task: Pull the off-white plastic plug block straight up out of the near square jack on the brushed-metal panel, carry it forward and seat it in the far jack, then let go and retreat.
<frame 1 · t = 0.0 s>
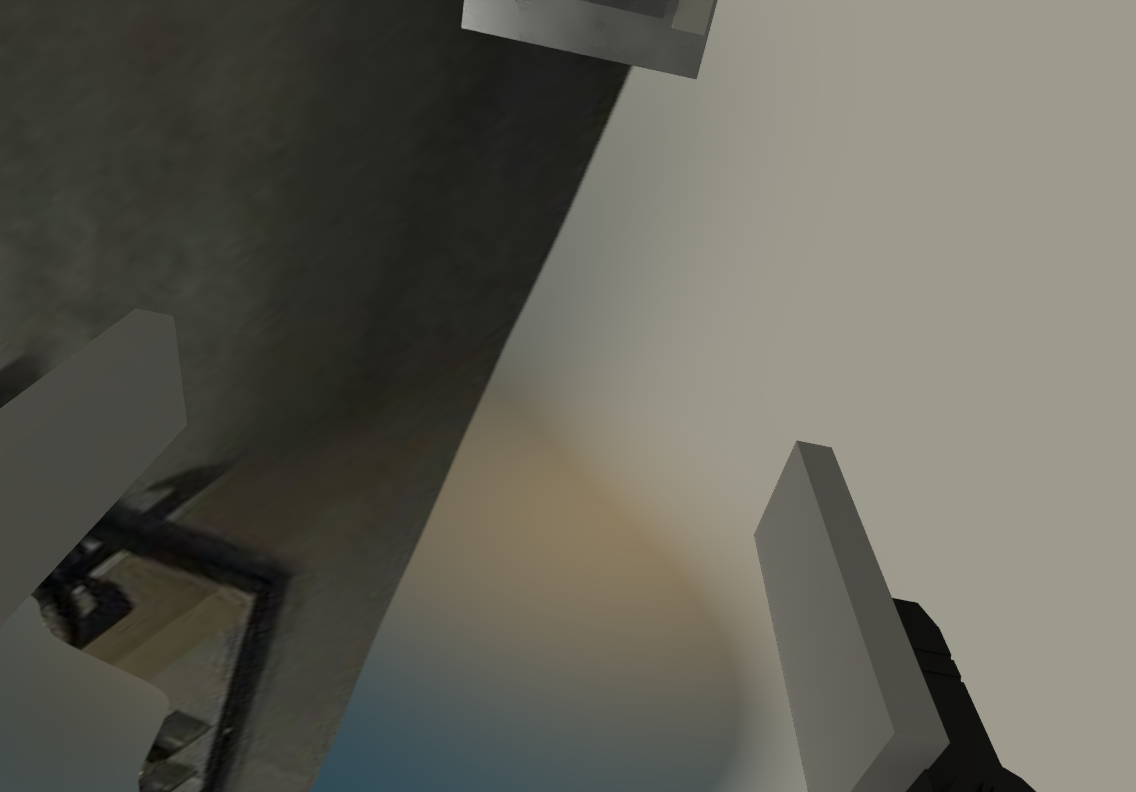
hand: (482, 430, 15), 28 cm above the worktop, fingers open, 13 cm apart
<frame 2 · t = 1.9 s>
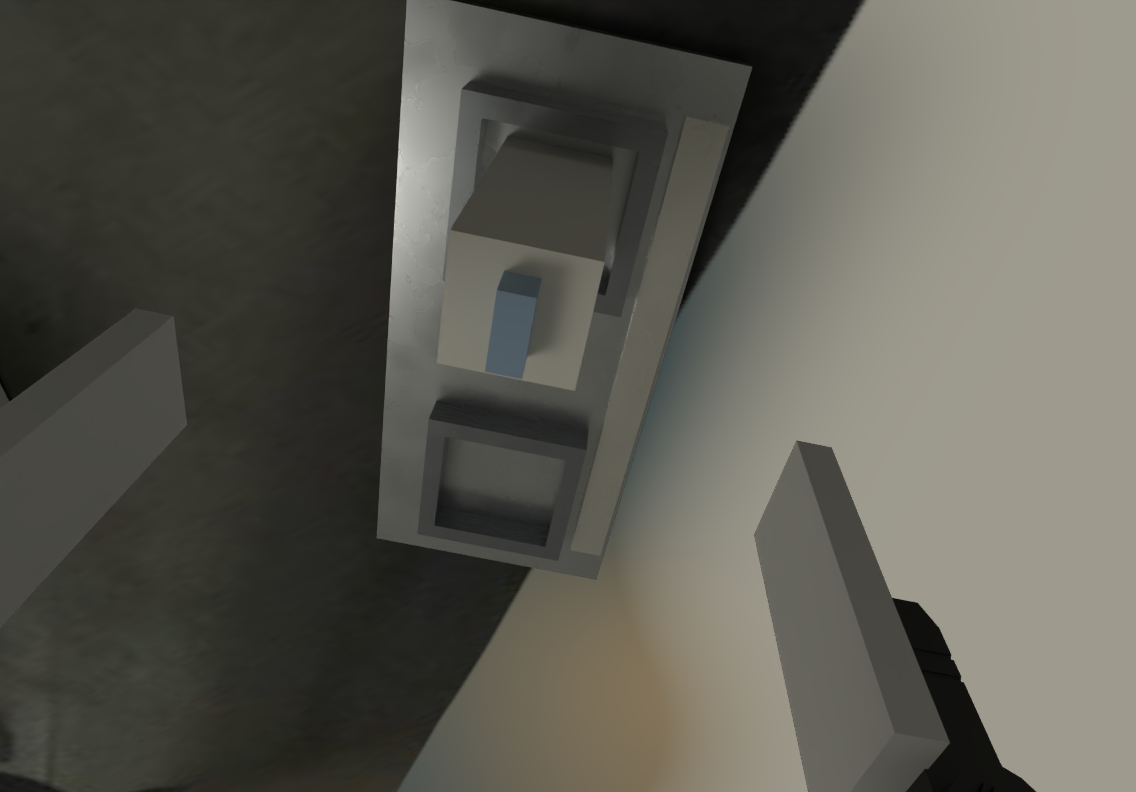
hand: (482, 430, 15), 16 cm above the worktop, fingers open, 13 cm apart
plug: (551, 199, 28), point 1 cm above the worktop, touching panel
panel: (526, 342, 32), on the worktop
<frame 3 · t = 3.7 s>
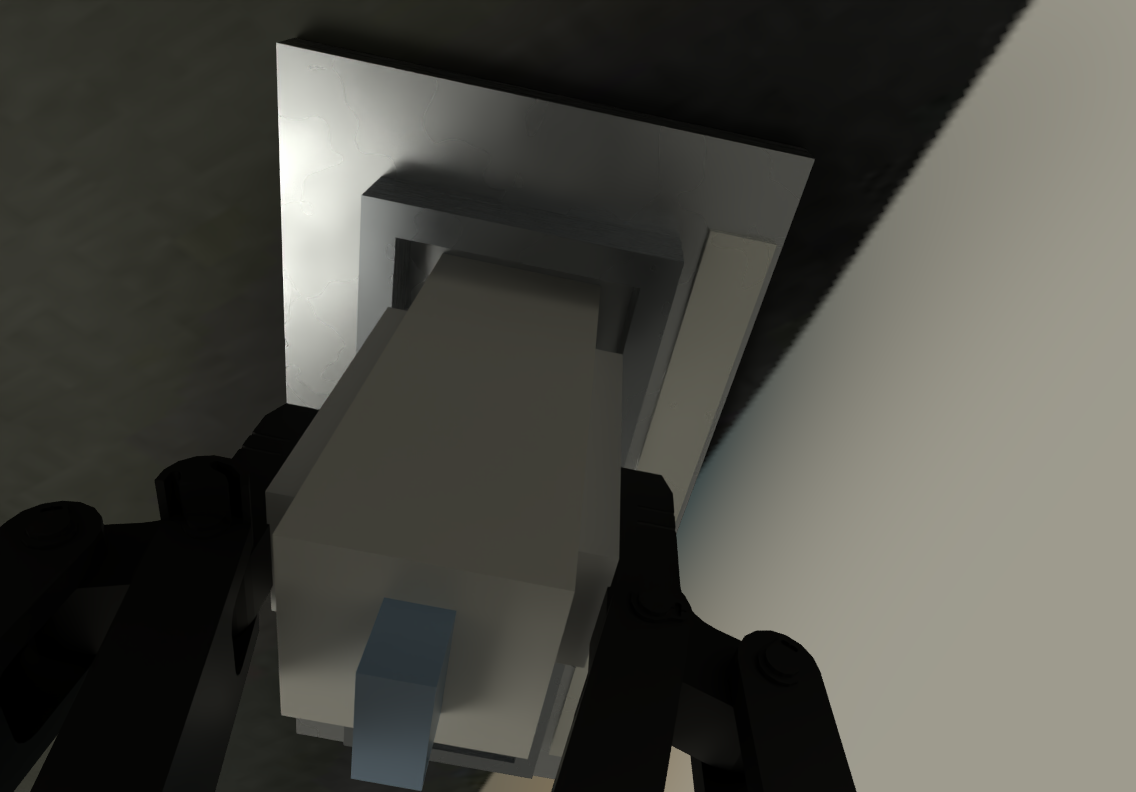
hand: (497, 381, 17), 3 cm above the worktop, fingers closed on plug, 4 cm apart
plug: (510, 339, 19), point 1 cm above the worktop, touching gripper, panel
panel: (484, 510, 23), on the worktop
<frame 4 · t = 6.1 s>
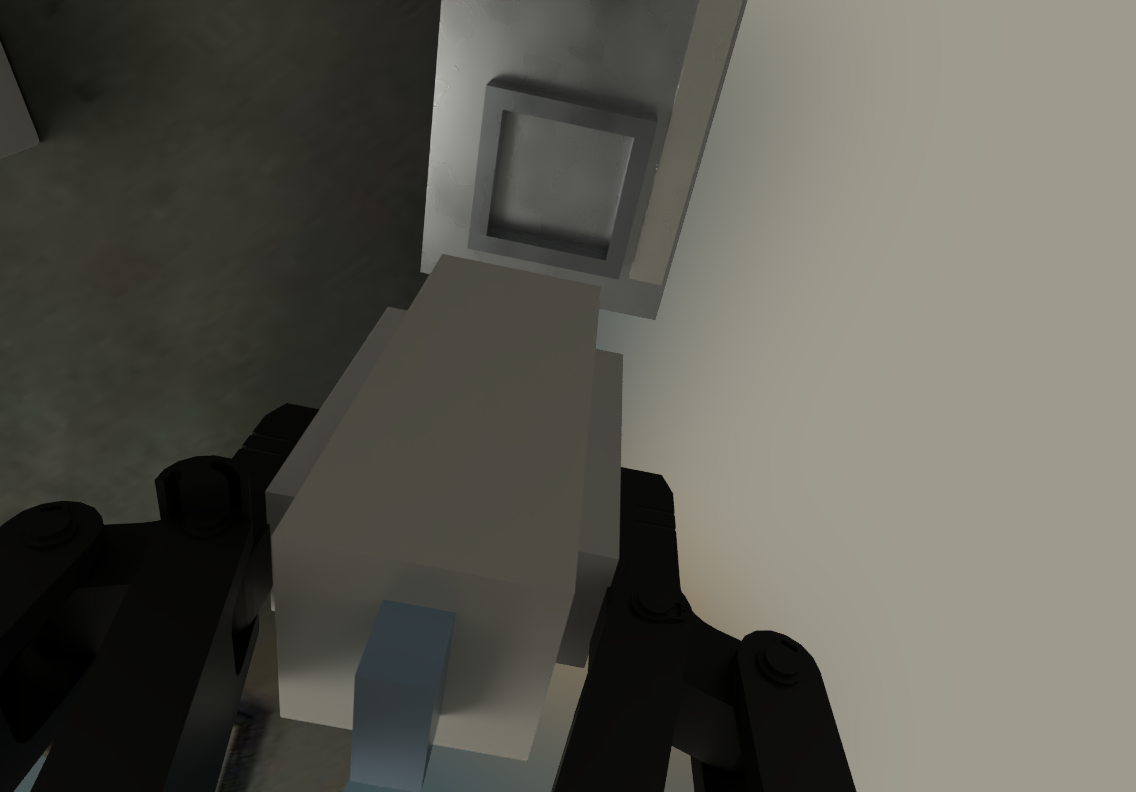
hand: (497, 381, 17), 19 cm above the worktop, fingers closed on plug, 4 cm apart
plug: (510, 340, 19), point 17 cm above the worktop, touching gripper
panel: (592, 5, 30), on the worktop
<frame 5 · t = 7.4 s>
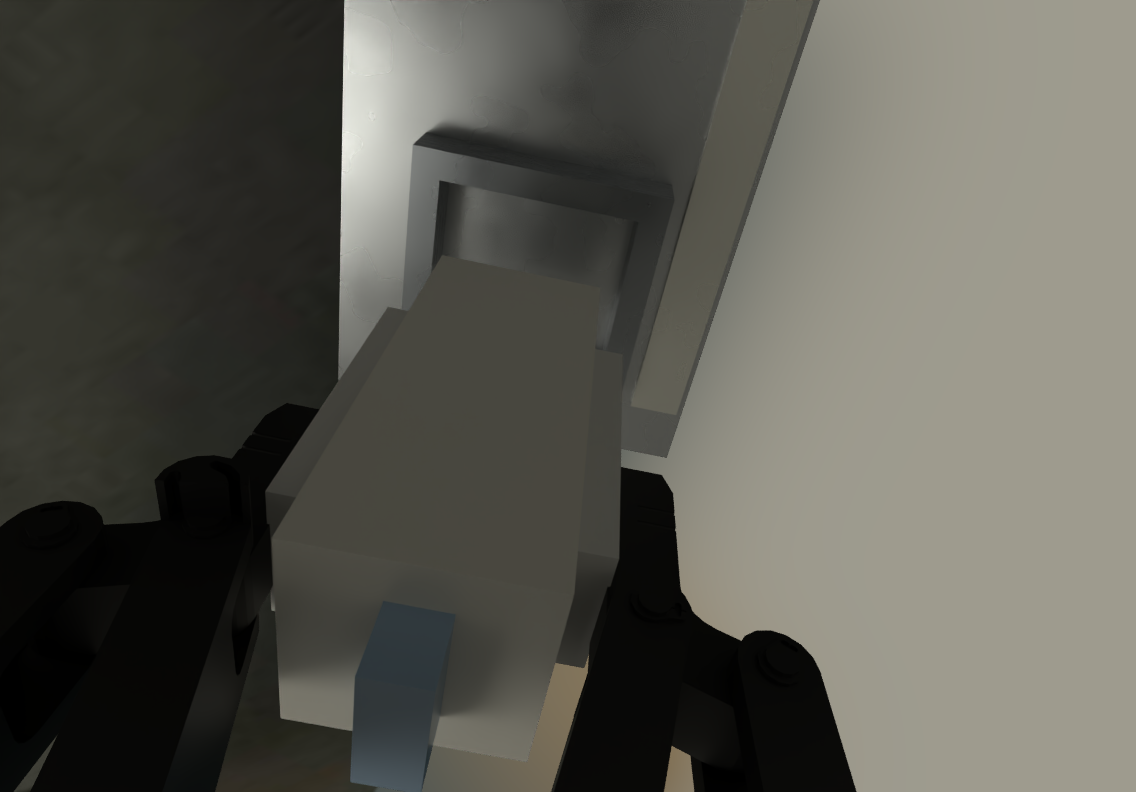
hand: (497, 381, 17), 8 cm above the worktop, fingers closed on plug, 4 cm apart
plug: (510, 341, 19), point 5 cm above the worktop, touching gripper
panel: (574, 24, 20), on the worktop
when the fingers open (4 cm above the worktop, at t = 8.4 s): plug stays where it is, resting on panel.
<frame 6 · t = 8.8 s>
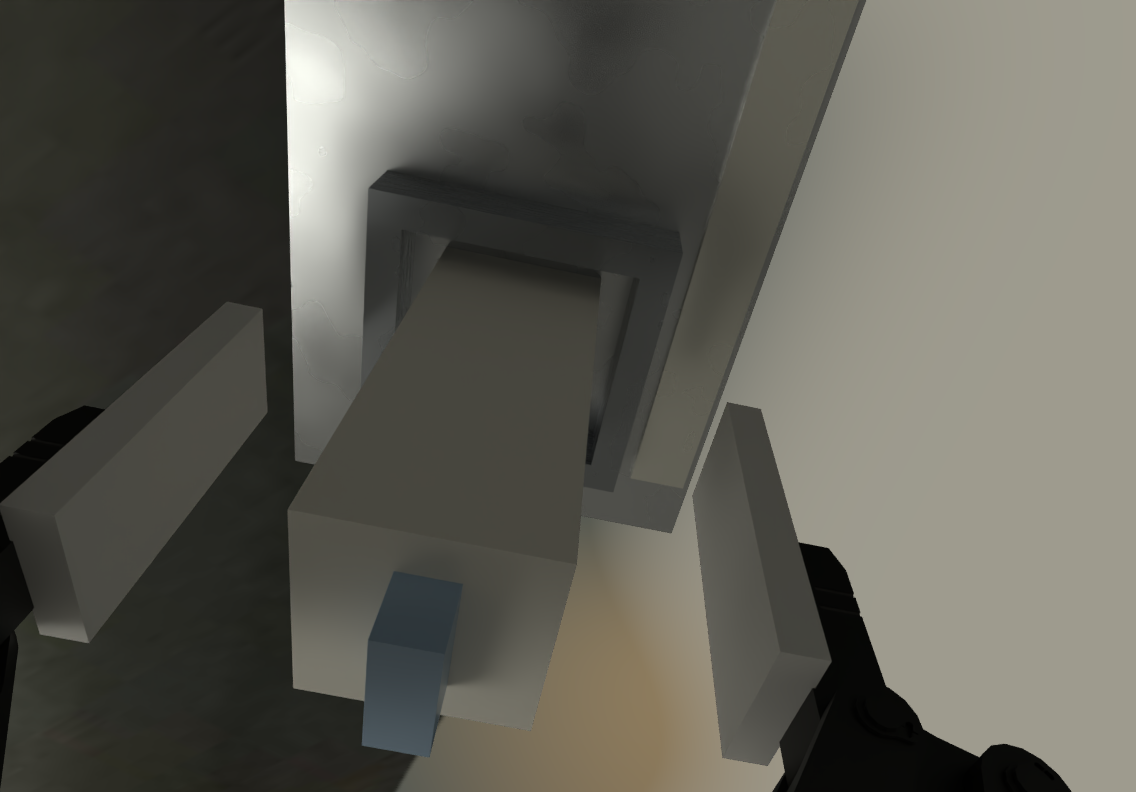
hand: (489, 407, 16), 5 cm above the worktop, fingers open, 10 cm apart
plug: (512, 331, 19), point 1 cm above the worktop, touching panel
panel: (563, 43, 16), on the worktop
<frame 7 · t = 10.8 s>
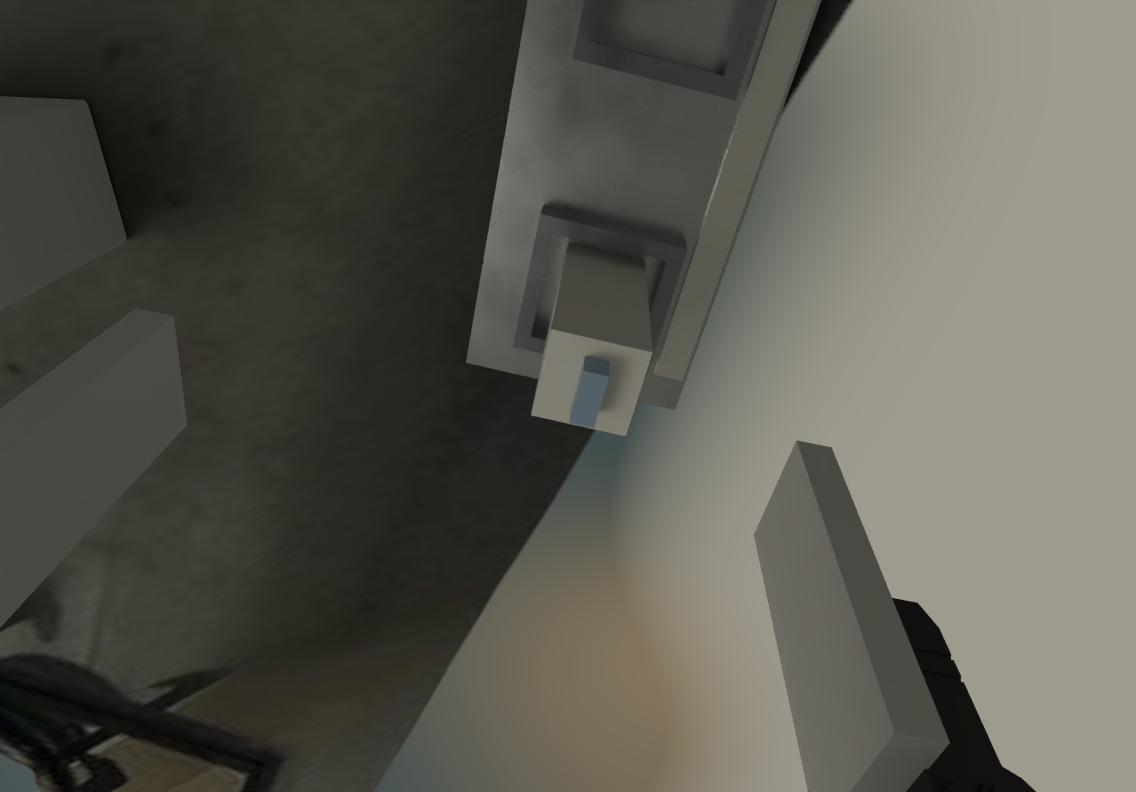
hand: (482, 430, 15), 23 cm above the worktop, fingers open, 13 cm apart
plug: (596, 289, 37), point 1 cm above the worktop, touching panel
panel: (632, 148, 34), on the worktop
milk carton: (46, 169, 37), on the worktop
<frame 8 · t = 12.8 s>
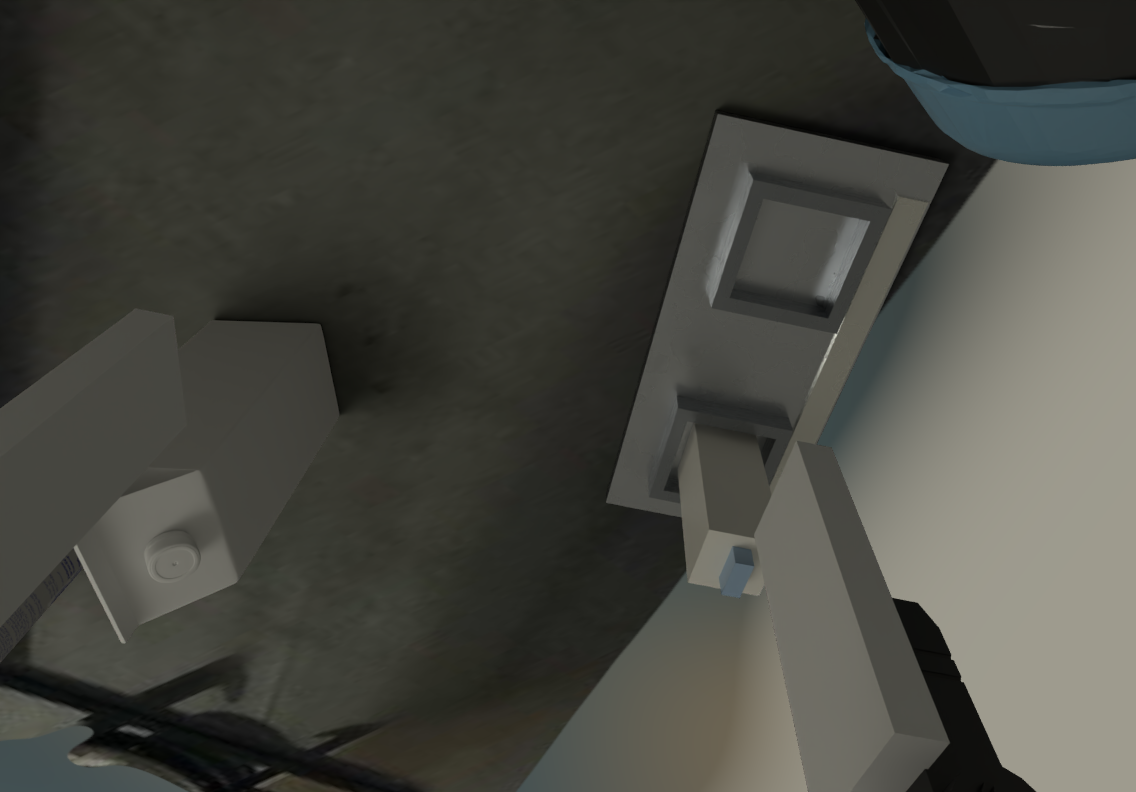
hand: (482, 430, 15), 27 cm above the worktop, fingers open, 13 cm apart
plug: (715, 451, 47), point 1 cm above the worktop, touching panel
panel: (748, 351, 44), on the worktop
milk carton: (280, 367, 47), on the worktop
beverage can: (62, 534, 57), on the worktop
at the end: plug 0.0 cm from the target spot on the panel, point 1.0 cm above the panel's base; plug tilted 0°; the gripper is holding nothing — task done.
